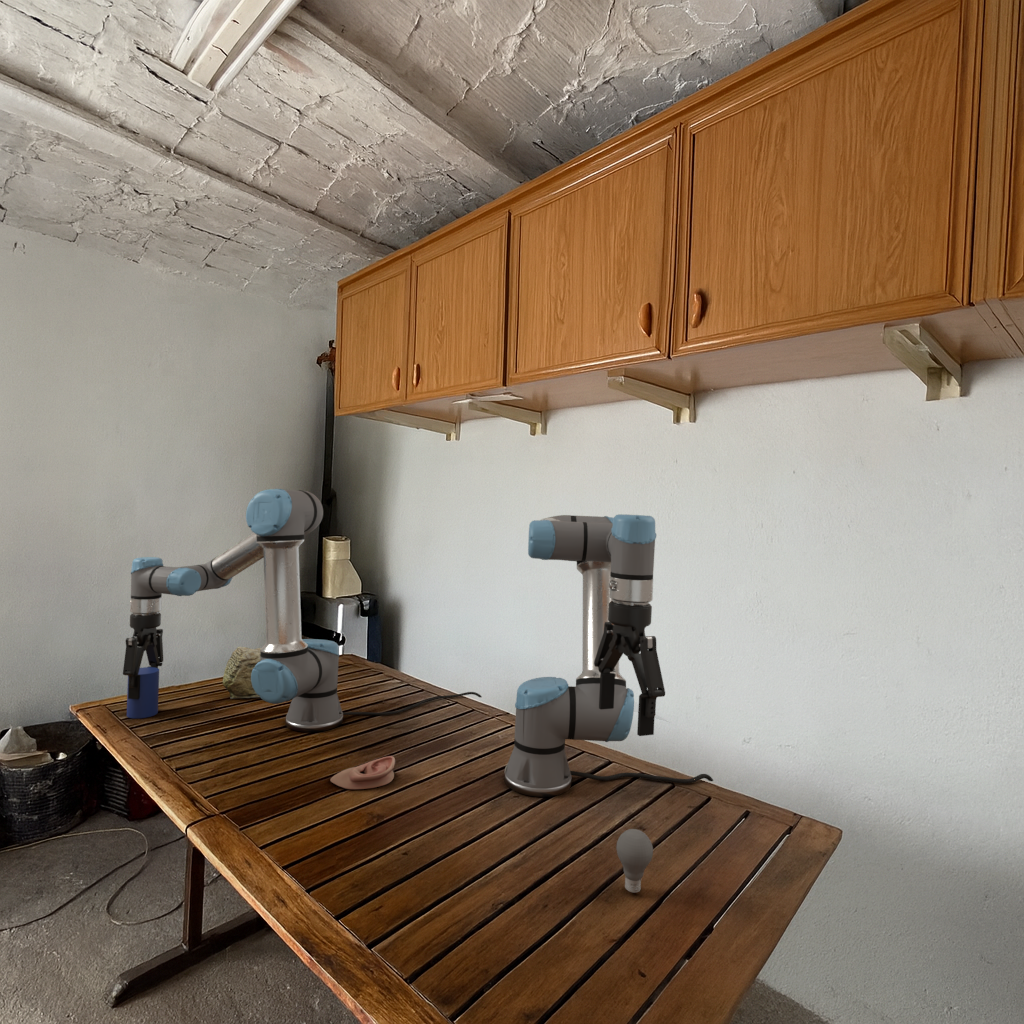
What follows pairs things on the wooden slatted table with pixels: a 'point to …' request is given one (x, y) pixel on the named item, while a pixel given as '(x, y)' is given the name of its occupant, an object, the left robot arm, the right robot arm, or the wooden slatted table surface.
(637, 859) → the light bulb
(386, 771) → the anatomical model
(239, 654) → the fossil
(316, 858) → the wooden slatted table surface
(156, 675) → the canister
